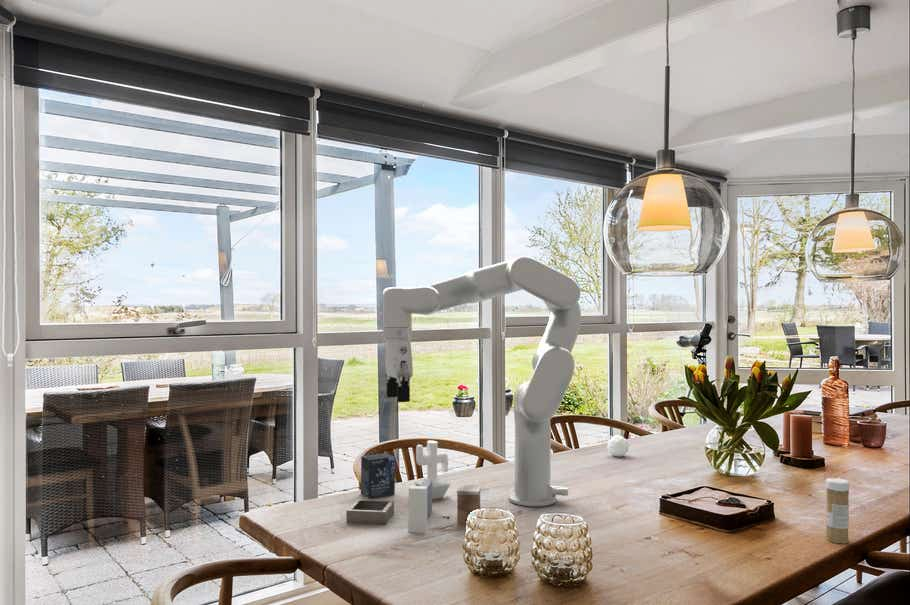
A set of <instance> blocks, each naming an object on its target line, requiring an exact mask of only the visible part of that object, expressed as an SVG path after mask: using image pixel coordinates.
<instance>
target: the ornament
mask: <svg viewBox="0 0 910 605" xmlns="http://www.w3.org/2000/svg"><path fill="white" fill-rule="evenodd" d="M609 438H610V439H609V440H608V441H607V446H606V447H607V450H608V451H609V453H610V454H611V455H612V456H613V457H618V458H621V457H623V456H626V454H627V453H628V452H629V449H630V443H629V442H628V440H627V439H626V438H625V437H624V436H622V435H614V436H612V435H610V436H609Z"/></svg>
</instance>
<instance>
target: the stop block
mask: <svg viewBox="0 0 910 605" xmlns="http://www.w3.org/2000/svg"><path fill="white" fill-rule="evenodd" d="M481 490H482V486H481V485H472V484H471V485H468V484H467V485H466V484H464V485H463V484H459V486H458V488H457V489H456V494H457V498H456V500H457V505H456V507H457V509H456V510H457V513H456V514H457V517H456V519H457V521H456V526H467V525H466V521H467V517H468V515H469V514H470V512H472V511H473V510H476V509H480V510H481Z"/></svg>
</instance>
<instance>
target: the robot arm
mask: <svg viewBox="0 0 910 605" xmlns="http://www.w3.org/2000/svg"><path fill="white" fill-rule="evenodd" d="M522 290H523V291H525V292H526V293H528V294H530V295H532V296H534V297H535V298H538V299H540V300H542V301H543V303H544V304H545V306H546V307H547V310H548V312H549V316H548V322H547V324H546V327H545V331H544V332H543V334H542V338H540V339H541V340H540V341H539V344H538V346H537V348H536V350H535V352H534V353H533V355H532V356H533V357H532V360H531V366H532V369H533V373H532V375H531V377H530V380H528V381H524V382H522V383H520V384H519V385H518V387H517V388H516V389H515V392H514V396H513V403H512V404H513V416H514V417H513V418H514V490H513V491H512V492H510V493H509V494H508V500H509V502H511V503H513V504H515V505H518V506H523V507H547V506H550V505H554V504H555V503H556V502H557V496H566V497H567V496H569V488H568V487H563V486H555V485H554V484H553V483H552V482H553V481H552V479H551V473H552V472H551V470H552V469H551V467H552V465H551V463H552V462H551V461H552V460H551V458H552V457H551V456H552V454H551V450H552V449H551V446H552V445H551V444H552V442H551V441H552V432H551V431H552V430H551V428H552V427H551V419H553V417H554V416H555V415H556V413H557V412H558V410H559V408H560V407H561V406H560V405H561V404H562V401H563V398H564V396H565V394H566V392H567V390H568V387H569V385H570V383H571V380H572V378H573V375H574V372H575V359H574V357H573V355H572V351H573V349H574V347H575V343H576V341H577V338H578V336H579V334H580V329H581V326H582V325H581V324H582V313H581V307H580V304H579V301H580V298H581V287H580V285H579V284H578V282H577V281H576V280H575V279H574V278H573V277H571V276H570V275H567V274H565V273H563V272H562V271H559V270H557V269H555V268H553V267H551V266H549V265H547V264H545V263H543V262H542V261H540V260H538V259H535V258H534V257H531V256H527V255H522V256H518V257H516V258H512V259H509V260H506V261H505V260H504V261H503V262H499V263H495V264H492V265H491V264H490V265H488V266H484V267H480V268H477V269H473V270H471V271H468V272H465V273H463V274H462V275H459V276H456V277H454V278H451V279H448V280H445V281H440V282H437V283H435V284H430V285H424V286H417V287H401V286H398V287H395V286H394V287H386V288H384V289H383V292H382V340H383V341H385V358H384V359H385V361H384V363H385V364H384V365H385V366H384V367H385V374H386V380H385V381H386V397H387V399H388V398H397V400H396V401H397V402H398V403H408V402H409V403H410V401H411V392H410V391H411V382H410V380H411V378H413V375H414V373H413V372H414V368H413V352H412V351H413V350H412V343H411V340H413V338H412V337H413V331H412V330H413V329H412V327H413V326H412V324H413V323H412V320H413V319H412V317H413V316H412V315H413V314H414V315H416V314H417V315H423V316H428V315H433V314H435V313H437V312H440V311H443V310H447V309H451V308H454V307H458V306H462V305H467V304H468V305H469V304H476V303H479V302H480V303H481V302H483V301H487V300H491V299H495V298H498V297H501V296H506V295H508V294H513V293H515V292H516V293H517V292H519V291H522Z"/></svg>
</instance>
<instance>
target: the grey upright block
mask: <svg viewBox="0 0 910 605" xmlns="http://www.w3.org/2000/svg"><path fill="white" fill-rule="evenodd" d="M423 480H424V481H423ZM423 480H422V481H423V482H422V484H421V485H420V486H416V485H410V486H409V487H408V503H407V504H408V526H407V527H408V530H407V531H408V533H419V534H420V533H421V534H424V533H425V534H426V533H427V532H428V521H429V519H430V516H431V514H432V513H433V499H432V480H431V479H427V478H425V479H423Z"/></svg>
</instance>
